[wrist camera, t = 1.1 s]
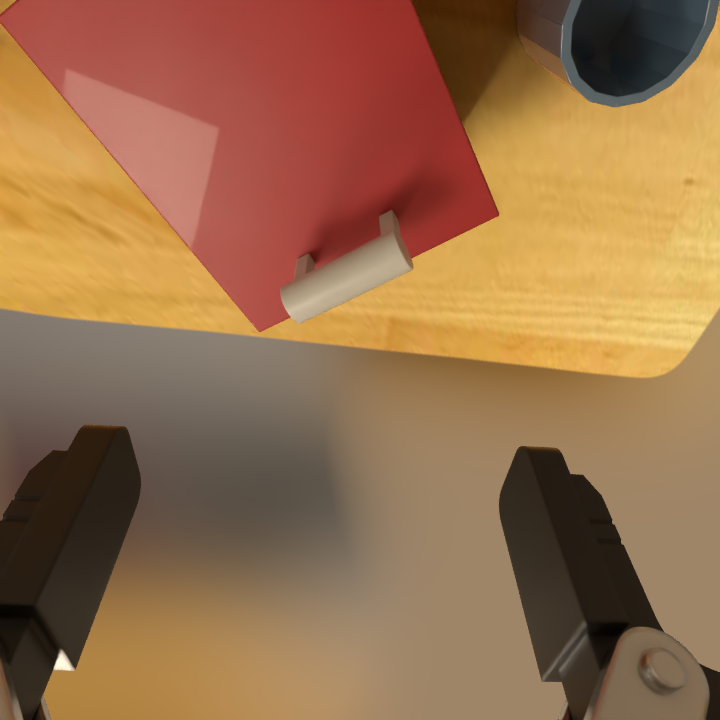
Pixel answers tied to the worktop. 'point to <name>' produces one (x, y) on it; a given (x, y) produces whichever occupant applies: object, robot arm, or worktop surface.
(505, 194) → the worktop surface
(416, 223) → the cooler lid
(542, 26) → the cup
